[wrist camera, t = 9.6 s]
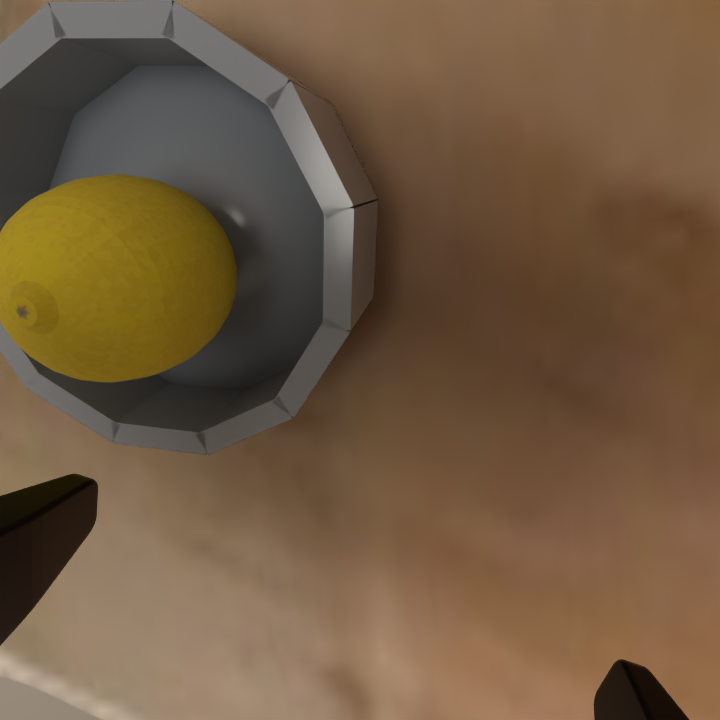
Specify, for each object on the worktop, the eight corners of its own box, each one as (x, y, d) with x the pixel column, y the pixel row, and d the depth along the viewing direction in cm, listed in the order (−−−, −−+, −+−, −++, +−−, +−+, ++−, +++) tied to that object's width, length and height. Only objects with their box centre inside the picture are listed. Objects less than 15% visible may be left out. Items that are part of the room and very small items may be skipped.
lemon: (231, 359, 19) (92, 472, 12) (104, 281, 19) (-116, 346, 12) (298, 231, 17) (181, 271, 10) (157, 142, 17) (-69, 115, 10)
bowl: (436, 318, 19) (430, 359, 14) (170, 438, 22) (105, 498, 18) (260, -43, 16) (189, -122, 12) (-10, 164, 20) (-136, 161, 15)
